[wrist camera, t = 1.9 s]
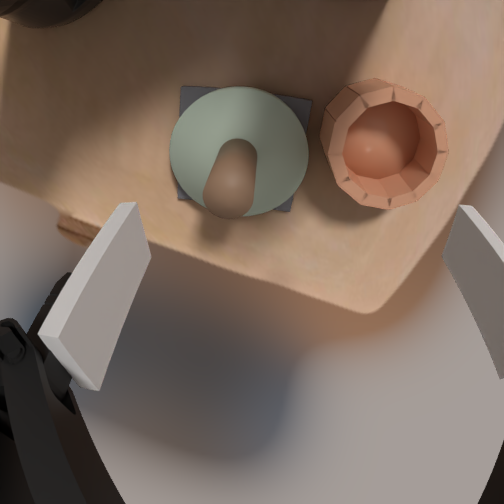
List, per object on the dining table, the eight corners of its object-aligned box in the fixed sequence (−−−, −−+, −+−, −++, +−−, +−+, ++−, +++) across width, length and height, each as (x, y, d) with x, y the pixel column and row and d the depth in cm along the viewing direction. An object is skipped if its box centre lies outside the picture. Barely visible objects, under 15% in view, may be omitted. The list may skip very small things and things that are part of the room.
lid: (173, 201, 33) (146, 257, 26) (176, 81, 25) (137, 101, 18) (293, 216, 34) (300, 276, 26) (318, 97, 26) (339, 123, 18)
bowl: (310, 174, 31) (317, 197, 27) (332, 67, 24) (345, 72, 20) (406, 193, 32) (423, 217, 28) (436, 99, 25) (461, 111, 21)
